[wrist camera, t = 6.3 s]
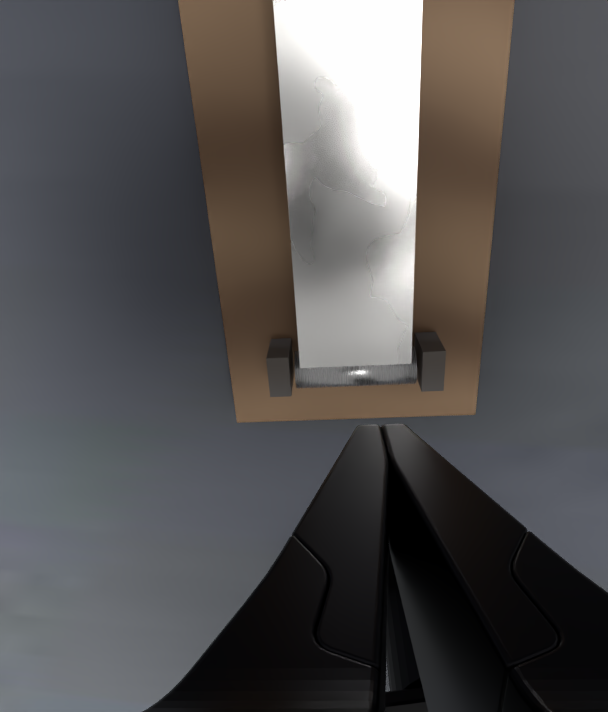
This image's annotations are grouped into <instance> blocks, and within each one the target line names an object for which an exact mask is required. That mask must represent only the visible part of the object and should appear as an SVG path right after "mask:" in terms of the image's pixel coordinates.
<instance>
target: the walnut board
mask: <svg viewBox="0 0 608 712" xmlns="http://www.w3.org/2000/svg"><path fill="white" fill-rule="evenodd" d="M514 1H515V0H423V2H422V34H421V67H420V100H419V132H418V165H417V197H416V230H415V263H414V295H413V328H412V346H414V348H415V351H416V357H417V381H416V384H402V385H375V386H348V387H321V388H296V382H295V365H294V358H295V351H299V347H298V333H297V320H296V306H295V293H294V279H293V266H292V252H291V238H290V225H289V211H288V198H287V184H286V171H285V157H284V144H283V130H282V116H281V103H280V89H279V76H278V62H277V49H276V35H275V22H274V8H273V0H178V3H179V10H180V18H181V25H182V32H183V39H184V46H185V53H186V60H187V68H188V75H189V82H190V89H191V96H192V103H193V111H194V118H195V125H196V132H197V139H198V146H199V153H200V161H201V168H202V175H203V182H204V189H205V196H206V204H207V211H208V218H209V225H210V232H211V239H212V246H213V254H214V261H215V268H216V275H217V282H218V289H219V297H220V304H221V311H222V318H223V325H224V332H225V339H226V347H227V354H228V361H229V368H230V375H231V382H232V390H233V397H234V404H235V411H236V418H237V423H239V422H269V421H299V420H329V419H358V418H388V417H418V416H448V415H475V413H476V403H477V392H478V382H479V371H480V361H481V350H482V339H483V329H484V318H485V308H486V297H487V287H488V276H489V265H490V255H491V244H492V234H493V223H494V213H495V202H496V192H497V181H498V170H499V160H500V149H501V139H502V128H503V118H504V107H505V97H506V86H507V75H508V65H509V54H510V44H511V33H512V23H513V12H514Z"/></svg>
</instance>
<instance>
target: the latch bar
mask: <svg viewBox="0 0 608 712" xmlns="http://www.w3.org/2000/svg"><path fill="white" fill-rule="evenodd" d="M422 2H423V0H273V8H274V22H275V35H276V49H277V62H278V76H279V89H280V103H281V116H282V130H283V144H284V157H285V171H286V184H287V198H288V211H289V225H290V238H291V252H292V266H293V279H294V293H295V306H296V320H297V333H298V347H299V351H295V358H294V365H295V382H296V388H321V387H348V386H375V385H402V384H416V381H417V357H416V351H415V348H414V346H412V328H413V295H414V263H415V230H416V197H417V165H418V132H419V100H420V67H421V34H422Z"/></svg>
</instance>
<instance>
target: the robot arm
mask: <svg viewBox="0 0 608 712" xmlns="http://www.w3.org/2000/svg"><path fill="white" fill-rule="evenodd" d="M386 659H387V667H388V676H389V685H390V691H389V692H385V686H386ZM143 712H608V592H606V591H605V590H603V589H602V588H601V587H599V586H598V585H597V584H595V583H594V582H593V581H591V580H590V579H589V578H587V577H586V576H585V575H583V574H582V573H580V572H579V571H578V570H577V569H575V568H574V567H573V566H572V565H570V564H569V563H568V562H567V561H565V560H564V559H563V558H562V557H560V556H559V555H558V554H557V553H556V552H554V551H553V550H552V549H551V548H549V547H548V546H547V545H546V544H545V543H543V542H542V541H541V540H540V539H539V538H538V537H536V536H535V535H534V534H533V533H532V532H527V528H526V527H524V526H523V525H522V524H521V523H520V522H519V521H517V520H516V519H515V518H514V517H513V516H511V515H510V514H509V513H508V512H507V511H506V510H504V509H503V508H502V507H501V506H500V505H499V504H497V503H496V502H495V501H494V500H493V499H492V498H490V497H489V496H488V495H487V494H486V493H484V492H483V491H482V490H481V489H480V488H479V487H477V486H476V485H475V484H474V483H473V482H472V481H470V480H469V479H468V478H467V477H466V476H465V475H463V474H462V473H461V472H460V471H459V470H457V469H456V468H455V467H454V466H453V465H452V464H450V463H449V462H448V461H447V460H446V459H445V458H443V457H442V456H441V455H440V454H439V453H438V452H436V451H435V450H434V449H433V448H432V447H430V446H429V445H428V444H427V443H426V442H425V441H423V440H422V439H421V438H420V437H419V436H418V435H416V434H415V433H414V432H413V431H412V430H411V429H409V428H408V427H407V426H406V425H404V424H385V425H383V426H382V427H380V426H379V425H359V426H357V427H356V429H355V430H354V432H353V434H352V435H351V437H350V439H349V440H348V442H347V444H346V445H345V447H344V449H343V450H342V452H341V454H340V455H339V457H338V459H337V460H336V462H335V464H334V465H333V467H332V469H331V470H330V472H329V474H328V475H327V477H326V479H325V480H324V482H323V484H322V485H321V487H320V489H319V490H318V492H317V493H316V495H315V497H314V498H313V500H312V502H311V503H310V505H309V507H308V508H307V510H306V512H305V513H304V515H303V517H302V518H301V520H300V522H299V523H298V525H297V527H296V528H295V530H294V532H293V533H292V536H291V537H290V538H289V540H288V541H287V543H286V545H285V546H284V548H283V550H282V551H281V553H280V554H279V556H278V557H277V559H276V561H275V562H274V564H273V565H272V567H271V568H270V570H269V571H268V573H267V574H266V576H265V577H264V578H263V580H262V581H261V582H260V584H259V585H258V586H257V588H256V589H255V590H254V591H253V593H252V594H251V595H250V597H249V598H248V599H247V601H246V602H245V603H244V604H243V606H242V607H241V608H240V609H239V611H238V612H237V613H236V614H235V615H234V617H233V618H232V619H231V620H230V622H229V623H228V624H227V625H226V626H225V628H224V629H223V630H222V631H221V633H220V634H219V635H218V636H217V638H216V639H215V640H214V641H213V642H212V644H211V645H210V646H209V647H208V649H207V650H206V651H205V652H204V654H203V655H202V656H201V657H200V658H199V660H198V661H197V662H196V663H195V665H194V666H193V667H192V668H191V669H190V671H189V672H188V673H187V674H186V675H185V677H184V678H183V679H182V680H181V681H180V682H179V683H178V684H177V685H176V686H175V687H174V688H173V689H172V690H171V691H170V692H169V693H168V694H167V695H165V696H164V697H163V698H162V699H161V700H159V701H158V702H157V703H155V704H154V705H153V706H151V707H150V708H148V709H146V710H145V711H143Z"/></svg>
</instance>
